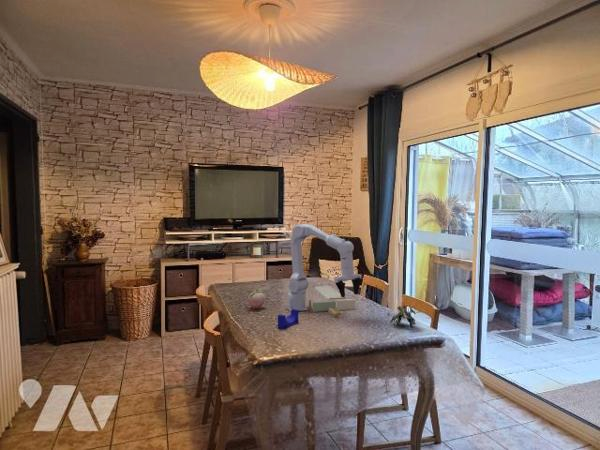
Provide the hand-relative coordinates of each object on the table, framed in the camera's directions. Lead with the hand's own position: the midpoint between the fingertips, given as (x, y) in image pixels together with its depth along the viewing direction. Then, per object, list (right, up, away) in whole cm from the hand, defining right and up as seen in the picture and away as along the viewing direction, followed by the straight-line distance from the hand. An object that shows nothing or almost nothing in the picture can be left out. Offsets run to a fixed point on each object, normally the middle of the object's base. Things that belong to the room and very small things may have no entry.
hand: (349, 295), depth 182 cm
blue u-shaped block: (-29, -12, -9) cm, 33 cm away
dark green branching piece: (+22, -12, -10) cm, 27 cm away
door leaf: (-11, -10, +14) cm, 21 cm away
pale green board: (-7, -10, +15) cm, 19 cm away
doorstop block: (-6, -11, +7) cm, 15 cm away
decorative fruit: (-46, -10, +16) cm, 50 cm away
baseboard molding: (-7, -9, +54) cm, 55 cm away
